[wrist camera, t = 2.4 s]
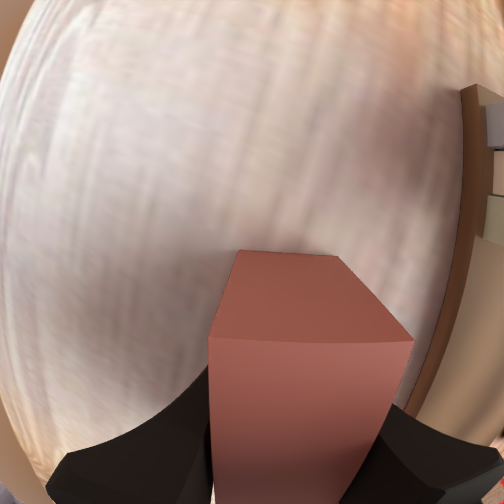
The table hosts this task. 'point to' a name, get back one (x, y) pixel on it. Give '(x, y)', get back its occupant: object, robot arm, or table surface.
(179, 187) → the table surface
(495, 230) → the book row
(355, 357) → the red block
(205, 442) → the robot arm
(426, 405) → the shelf board
